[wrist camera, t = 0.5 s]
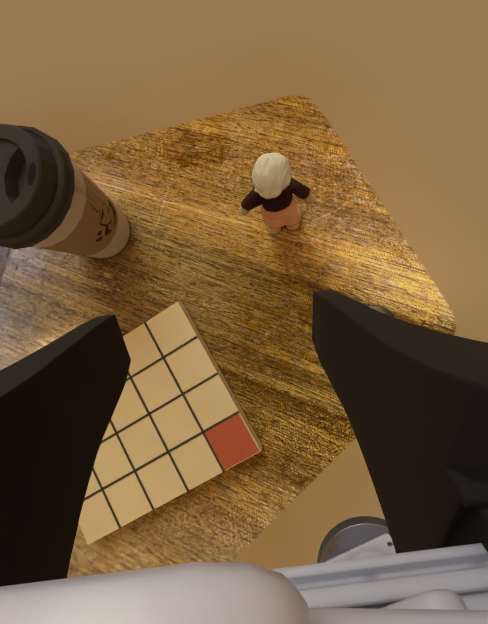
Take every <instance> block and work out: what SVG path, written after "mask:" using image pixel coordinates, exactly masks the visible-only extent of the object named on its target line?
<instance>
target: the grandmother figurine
mask: <svg viewBox="0 0 488 624" xmlns="http://www.w3.org/2000/svg"><path fill="white" fill-rule="evenodd" d="M252 181H253V184H254V186H255V188H254V189H253V190H252V191H251V192H250V193H249V194H248V195H247V196H246V197H245V198H244V199H243V201H242V202H241V207H240V208H239V212H240V214H241V215H244V216H245V215H247V214H248V213H249V211H250V210H251V209H253V208H255V207H257V206H260V205H261V212H262V216H263V218H264V220H265V224H266V227H267V229H268V232H269V233H270V234H272V235H275V234H278V233H279V232H280V231H281V227H282V226H285V225H286V228H287V229H288V230H296V229H297V228H298V227H299V224H300V220H301V216H302V213H301V211H300V210H299V209H298V208H297V204H296V200H295V198H294V196H293V195H292V193H293V194H295V195H296V196H298V197H299V198H301V199H303V200H304V201H305V202H306V203H307V204H309V205H310V204H313V203H314V202H315V196H314V195H313V194H312V192H311V191H310V189H309V188H308V187H307V186H305V185H303V184H301V183H300V182H298V181H296V180H295V179H292V178H291V171H290V165H289V163H288V160H287V159H286V158H285V156H283V155H280V153H269V154H263V155H261V157H259V158H258V160H257V161H256V163H255V166H254V168H253V171H252Z"/></svg>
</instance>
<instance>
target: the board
mask: <svg viewBox="0 0 488 624" xmlns="http://www.w3.org/2000/svg"><path fill="white" fill-rule="evenodd" d="M123 339H124V341H125V344H126V347H127V350H128V353H129V356H130V358H131V363H130V367H129V372H128V376H127V380H126V383H125V386H124V389H123V391H122V394H121V396H120V398H119V401H118V403H117V406H116V408H115V410H114V413H113V415H112V418H111V420H110V422H109V425H108V427H107V430H106V432H105V434H104V437H103V439H102V442H101V445H100V447H99V450H98V453H97V456H96V460H95V463H94V466H93V470H92V473H91V477H90V480H89V484H88V487H87V491H86V495H85V499H84V503H83V506H82V510H81V514H80V518H79V525H80V527H81V530H82V532H83V534H84V536H85V539H86V541H87V543H88V545H89V544H91V543H93V542H95V541H97V540H99V539H100V538H102V537H104V536H106V535H108V534H110V533H112V532H113V531H115V530H117V529H120V528H121V527H123V526H124V525H126V524H128V523H130V522H132V521H134V520H135V519H137V518H139V517H141V516H143V515H145V514H147V513H148V512H150V511H152V510H155V509H156V508H158V507H159V506H161V505H163V504H165V503H167V502H169V501H171V500H172V499H174V498H176V497H178V496H180V495H182V494H183V493H185V492H188V491H189V490H191V489H193V488H195V487H196V486H198V485H200V484H202V483H204V482H206V481H207V480H209V479H211V478H213V477H215V476H217V475H219V474H220V473H222V472H225V471H226V470H228V469H230V468H231V467H233V466H235V465H237V464H239V463H241V462H243V461H244V460H246V459H248V458H250V457H252V456H254V455H255V454H257V453H259V452H261V450H262V447H263V446H262V444H261V442H260V441H259V439H258V437H257V435H256V434H255V432H254V430H253V428H252V426H251V425H250V423H249V421H248V419H247V417H246V416H245V414H244V412H243V410H242V408H241V407H240V405H239V403H238V401H237V400H236V398H235V396H234V394H233V392H232V391H231V389H230V387H229V385H228V383H227V382H226V380H225V378H224V376H223V374H222V373H221V371H220V369H219V367H218V366H217V364H216V362H215V360H214V358H213V357H212V355H211V353H210V351H209V349H208V348H207V346H206V344H205V342H204V340H203V339H202V337H201V335H200V333H199V332H198V330H197V328H196V326H195V324H194V323H193V321H192V319H191V317H190V315H189V314H188V312H187V310H186V308H185V306H184V305H183V303H182V302H176V303H175V304H173V305H172V306H170V307H168V308H167V309H165V310H164V311H162V312H161V313H159V314H157V315H156V316H154V317H153V318H151V319H150V320H148V321H147V322H144V323H143V324H142V325H140V326H139V327H137V328H136V329H134V330H132V331H131V332H129V333H128V334H126V335H125V336H123Z"/></svg>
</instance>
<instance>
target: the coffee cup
mask: <svg viewBox="0 0 488 624" xmlns="http://www.w3.org/2000/svg"><path fill="white" fill-rule="evenodd" d="M129 235H130V225H129V222H128V220H127V217H126V216H125V214H124V213H123V212H122V210H121V209H120V208H119V207H118V206H117V205H116V204H115V203H114V202H113V201H112V200H111V199H110V198H109V197H108V196H107V195H106V194H105V193H104V192H103V191H102V190H101V189H99V188H98V187H97V186H96V185H95V184H94V183H93V182H92V181H91V180H90V179H89V178H88V177H87V176H86V175H85V174H84V173H83V172H82V171H81V170H80V169H79V168H78V167H77V166H76V165H75V164H74V163H73V162H72V161H71V160H70V157H69V154H68V152H67V151H66V150H65V149H64V148H63V146H62V145H61V144H60V143H59V142H58V141H57V140H56V139H54V138H52V137H50V136H48V135H47V134H45V133H43V132H41V131H39V130H38V129H36V128H33V127H25V126H15V125H8V124H0V246H4V247H8V248H13V249H19V248H26V247H37V248H43V249H48V250H54V251H60V252H66V253H71V254H77V255H83V256H89V257H94V258H107V257H112V256H114V255H116V254H118V253H119V252H120V251H121V250H122V249H123V248H124V247H125V245H126V244H127V242H128V239H129Z"/></svg>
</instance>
